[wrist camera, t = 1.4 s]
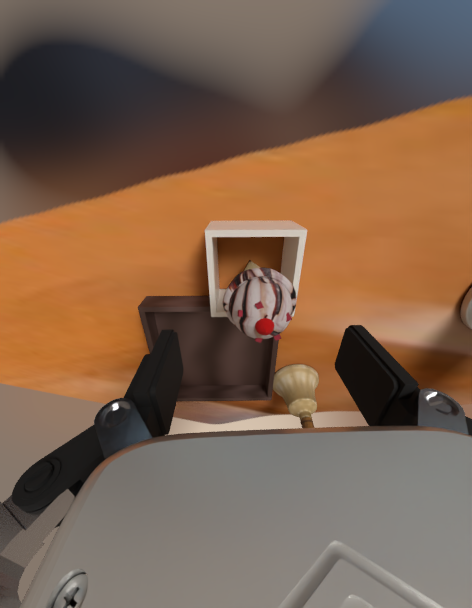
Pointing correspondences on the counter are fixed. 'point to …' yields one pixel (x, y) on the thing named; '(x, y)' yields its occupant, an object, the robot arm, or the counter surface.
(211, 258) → the frame
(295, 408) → the hand bell
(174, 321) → the tray
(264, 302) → the ice cream cone
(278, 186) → the counter surface
